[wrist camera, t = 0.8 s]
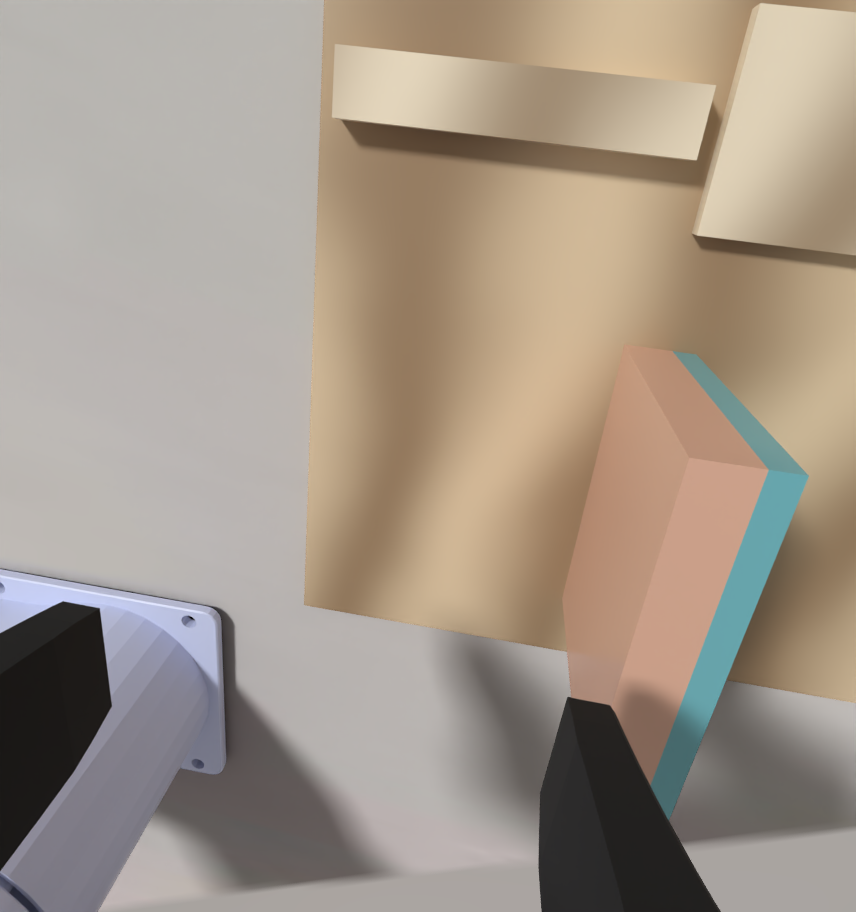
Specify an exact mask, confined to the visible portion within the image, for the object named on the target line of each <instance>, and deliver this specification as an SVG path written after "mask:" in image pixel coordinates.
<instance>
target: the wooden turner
mask: <svg viewBox="0 0 856 912" xmlns="http://www.w3.org/2000/svg"><path fill="white" fill-rule="evenodd" d="M715 88H716V85H709V84H700V83H691V82H682V81H672V80H663V79H654V78H645V77H635V76H626V75H617V74H608V73H599V72H589V71H580V70H571V69H562V68H552V67H543V66H534V65H525V64H516V63H506V62H497V61H488V60H479V59H469V58H460V57H451V56H442V55H432V54H423V53H414V52H405V51H396V50H386V49H377V48H368V47H359V46H349V45H340V44H335V52H334V77H333V102H332V118H336V119H340V120H346V121H355V122H363V123H372V124H380V125H389V126H397V127H406V128H414V129H423V130H431V131H440V132H448V133H457V134H465V135H474V136H482V137H491V138H499V139H508V140H516V141H525V142H533V143H542V144H550V145H559V146H567V147H576V148H584V149H593V150H601V151H610V152H618V153H627V154H635V155H644V156H652V157H661V158H669V159H678V160H686V161H693V160H697V157H698V153H699V150H700V146H701V142H702V138H703V134H704V131H705V127H706V123H707V119H708V115H709V111H710V108H711V104H712V100H713V96H714V92H715ZM692 234H694V235H697V236H705V237H713V238H721V239H729V240H737V241H745V242H753V243H761V244H769V245H776V246H784V247H792V248H800V249H808V250H816V251H824V252H832V253H840V254H848V255H856V12H847V11H836V10H826V9H816V8H806V7H796V6H786V5H775V4H765V3H760V4H759V5H757V6H756V7H754V8H753V9H752V12H751V16H750V19H749V23H748V27H747V31H746V34H745V38H744V42H743V45H742V49H741V53H740V56H739V60H738V64H737V68H736V71H735V75H734V79H733V82H732V86H731V90H730V93H729V97H728V101H727V105H726V108H725V112H724V116H723V119H722V123H721V127H720V130H719V134H718V138H717V142H716V145H715V149H714V153H713V156H712V160H711V164H710V167H709V171H708V175H707V179H706V182H705V186H704V190H703V193H702V197H701V201H700V204H699V208H698V212H697V216H696V219H695V223H694V227H693V230H692Z"/></svg>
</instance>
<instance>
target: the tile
mask: <svg viewBox="0 0 856 912" xmlns="http://www.w3.org/2000/svg"><path fill="white" fill-rule="evenodd" d="M808 477H809V475H808V474H807V473H806V472H805V471H804V470H803V469H802V468H801V467H800V466H799V465H798V463H797V462H796V461H795V460H794V459H793V458H792V457H791V456H790V455H789V454H788V453H787V452H786V451H785V449H784V448H783V447H782V446H781V445H780V444H779V443H778V442H777V441H776V440H775V439H774V438H773V436H772V435H771V434H770V433H769V432H768V431H767V430H766V429H765V428H764V427H763V426H762V425H761V424H760V422H759V421H758V420H757V419H756V418H755V417H754V416H753V415H752V414H751V413H750V412H749V411H748V409H747V408H746V407H745V406H744V405H743V404H742V403H741V402H740V401H739V400H738V399H737V398H736V397H735V395H734V394H733V393H732V392H731V391H730V390H729V389H728V388H727V387H726V386H725V385H724V384H723V383H722V381H721V380H720V379H719V378H718V377H717V376H716V375H715V374H714V373H713V372H712V371H711V370H710V368H709V367H708V366H707V365H706V364H705V363H704V362H703V361H702V360H701V359H700V358H699V357H698V356H697V354H689V353H682V352H675V351H668V350H661V349H654V348H647V347H640V346H632V345H625V344H624V348H623V352H622V356H621V360H620V364H619V368H618V372H617V377H616V381H615V385H614V389H613V393H612V397H611V401H610V405H609V409H608V413H607V417H606V421H605V426H604V430H603V434H602V438H601V442H600V446H599V450H598V454H597V458H596V462H595V466H594V470H593V475H592V479H591V483H590V487H589V491H588V495H587V499H586V503H585V507H584V511H583V515H582V519H581V524H580V528H579V532H578V536H577V540H576V544H575V548H574V552H573V556H572V560H571V564H570V568H569V572H568V577H567V581H566V585H565V589H564V593H563V597H562V602H563V613H564V624H565V635H566V646H567V657H568V668H569V678H570V689H571V698H576V699H581V700H586V701H591V702H597V703H602V704H607V705H610V706H611V708H612V709H613V710H614V712H615V713H616V716H617V718H618V720H619V722H620V724H621V726H622V729H623V731H624V733H625V735H626V737H627V739H628V741H629V743H630V746H631V748H632V750H633V752H634V754H635V756H636V758H637V760H638V762H639V764H640V766H641V768H642V770H643V772H644V774H645V776H646V778H647V780H648V782H649V784H650V786H651V788H652V790H653V792H654V794H655V796H656V798H657V800H658V802H659V803H660V805H661V807H662V809H663V811H664V813H665V815H666V817H667V819H668V820H669V819H670V817H671V814H672V812H673V809H674V807H675V804H676V802H677V799H678V797H679V794H680V792H681V790H682V787H683V785H684V782H685V780H686V777H687V775H688V772H689V770H690V767H691V765H692V763H693V760H694V758H695V755H696V753H697V750H698V748H699V745H700V743H701V740H702V738H703V735H704V733H705V731H706V728H707V726H708V723H709V721H710V718H711V716H712V713H713V711H714V708H715V706H716V704H717V701H718V699H719V696H720V694H721V691H722V689H723V686H724V684H725V681H726V679H727V676H728V674H729V672H730V669H731V667H732V664H733V662H734V659H735V657H736V654H737V652H738V649H739V647H740V645H741V642H742V640H743V637H744V635H745V632H746V630H747V627H748V625H749V622H750V620H751V618H752V615H753V613H754V610H755V608H756V605H757V603H758V600H759V598H760V595H761V593H762V590H763V588H764V586H765V583H766V581H767V578H768V576H769V573H770V571H771V568H772V566H773V563H774V561H775V559H776V556H777V554H778V551H779V549H780V546H781V544H782V541H783V539H784V536H785V534H786V532H787V529H788V527H789V524H790V522H791V519H792V517H793V514H794V512H795V509H796V507H797V504H798V502H799V500H800V497H801V495H802V492H803V490H804V487H805V485H806V482H807V480H808Z"/></svg>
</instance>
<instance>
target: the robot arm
mask: <svg viewBox="0 0 856 912" xmlns="http://www.w3.org/2000/svg"><path fill="white" fill-rule="evenodd" d="M188 616H191V617H193V618H194V619H195V621H194V620H192V619H190V618H189V617H188ZM225 764H226V740H225V712H224V684H223V656H222V628H221V618H220V615H219V614H218V612H217V611H216V610H214V609H213V608H210V607H207V606H202V605H197V604H191V603H186V602H180V601H174V600H169V599H163V598H158V597H152V596H147V595H141V594H136V593H130V592H124V591H119V590H113V589H108V588H102V587H97V586H91V585H85V584H80V583H74V582H69V581H63V580H58V579H52V578H47V577H41V576H35V575H30V574H24V573H19V572H13V571H8V570H2V569H0V912H98V910H99V909H100V907H101V905H102V903H103V902H104V900H105V898H106V896H107V895H108V893H109V891H110V889H111V888H112V886H113V884H114V882H115V881H116V879H117V877H118V875H119V874H120V872H121V870H122V868H123V867H124V865H125V863H126V861H127V860H128V858H129V856H130V854H131V853H132V851H133V849H134V847H135V846H136V844H137V842H138V840H139V839H140V837H141V835H142V833H143V832H144V830H145V828H146V826H147V825H148V823H149V821H150V819H151V818H152V816H153V814H154V812H155V811H156V809H157V807H158V805H159V804H160V802H161V800H162V798H163V797H164V795H165V793H166V791H167V790H168V788H169V786H170V784H171V782H172V781H173V779H174V777H175V775H176V774H177V772H178V770H179V768H181V769H186V770H191V771H196V772H201V773H206V774H213V775H215V774H219V773H221V772H222V770H223V768H224V766H225ZM539 881H540V894H541V908H542V912H721V911H720V910H719V908H718V907H717V905H716V903H715V902H714V900H713V898H712V897H711V895H710V893H709V891H708V890H707V888H706V886H705V885H704V883H703V881H702V879H701V878H700V876H699V874H698V873H697V871H696V869H695V868H694V865H693V864H692V862H691V860H690V858H689V857H688V855H687V853H686V851H685V849H684V847H683V846H682V844H681V842H680V840H679V838H678V837H677V835H676V833H675V831H674V829H673V828H672V826H671V824H670V822H669V820H668V819H667V817H666V815H665V813H664V811H663V809H662V807H661V805H660V803H659V802H658V800H657V798H656V796H655V794H654V792H653V790H652V788H651V786H650V784H649V782H648V780H647V778H646V776H645V774H644V772H643V770H642V768H641V766H640V764H639V762H638V760H637V758H636V756H635V754H634V752H633V750H632V748H631V746H630V743H629V741H628V739H627V737H626V735H625V733H624V731H623V729H622V726H621V724H620V722H619V720H618V718H617V716H616V713H615V712H614V710H613V709H612V708H611V706H610V705H607V704H602V703H597V702H591V701H586V700H581V699H576V698H570V697H567V701H566V704H565V708H564V711H563V715H562V718H561V722H560V725H559V729H558V732H557V736H556V739H555V743H554V746H553V750H552V753H551V757H550V760H549V764H548V767H547V771H546V774H545V778H544V781H543V785H542V789H541V792H540V823H539Z"/></svg>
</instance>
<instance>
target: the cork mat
mask: <svg viewBox="0 0 856 912" xmlns="http://www.w3.org/2000/svg"><path fill="white" fill-rule="evenodd" d="M760 3H765V4H775V5H786V6H796V7H806V8H816V9H826V10H836V11H847V12H856V0H324V21H323V52H322V82H321V112H320V142H319V172H318V202H317V232H316V263H315V293H314V323H313V353H312V383H311V413H310V443H309V474H308V504H307V534H306V564H305V594H304V605H307V606H312V607H318V608H323V609H329V610H335V611H340V612H346V613H352V614H357V615H363V616H369V617H374V618H380V619H385V620H391V621H397V622H402V623H408V624H414V625H419V626H425V627H430V628H436V629H442V630H447V631H453V632H459V633H464V634H470V635H476V636H481V637H487V638H492V639H498V640H504V641H509V642H515V643H521V644H526V645H532V646H538V647H543V648H549V649H554V650H560V651H566V652H567V646H566V635H565V624H564V613H563V602H562V597H563V593H564V589H565V585H566V581H567V577H568V572H569V568H570V564H571V560H572V556H573V552H574V548H575V544H576V540H577V536H578V532H579V528H580V524H581V519H582V515H583V511H584V507H585V503H586V499H587V495H588V491H589V487H590V483H591V479H592V475H593V470H594V466H595V462H596V458H597V454H598V450H599V446H600V442H601V438H602V434H603V430H604V426H605V421H606V417H607V413H608V409H609V405H610V401H611V397H612V393H613V389H614V385H615V381H616V377H617V372H618V368H619V364H620V360H621V356H622V352H623V348H624V344H625V345H632V346H640V347H647V348H654V349H661V350H668V351H675V352H682V353H689V354H697V356H698V357H699V358H700V359H701V360H702V361H703V362H704V363H705V364H706V365H707V366H708V367H709V368H710V370H711V371H712V372H713V373H714V374H715V375H716V376H717V377H718V378H719V379H720V380H721V381H722V383H723V384H724V385H725V386H726V387H727V388H728V389H729V390H730V391H731V392H732V393H733V394H734V395H735V397H736V398H737V399H738V400H739V401H740V402H741V403H742V404H743V405H744V406H745V407H746V408H747V409H748V411H749V412H750V413H751V414H752V415H753V416H754V417H755V418H756V419H757V420H758V421H759V422H760V424H761V425H762V426H763V427H764V428H765V429H766V430H767V431H768V432H769V433H770V434H771V435H772V436H773V438H774V439H775V440H776V441H777V442H778V443H779V444H780V445H781V446H782V447H783V448H784V449H785V451H786V452H787V453H788V454H789V455H790V456H791V457H792V458H793V459H794V460H795V461H796V462H797V463H798V465H799V466H800V467H801V468H802V469H803V470H804V471H805V472H806V473H807V474H808V475H809V477H808V480H807V482H806V485H805V487H804V490H803V492H802V495H801V497H800V500H799V502H798V504H797V507H796V509H795V512H794V514H793V517H792V519H791V522H790V524H789V527H788V529H787V532H786V534H785V536H784V539H783V541H782V544H781V546H780V549H779V551H778V554H777V556H776V559H775V561H774V563H773V566H772V568H771V571H770V573H769V576H768V578H767V581H766V583H765V586H764V588H763V590H762V593H761V595H760V598H759V600H758V603H757V605H756V608H755V610H754V613H753V615H752V618H751V620H750V622H749V625H748V627H747V630H746V632H745V635H744V637H743V640H742V642H741V645H740V647H739V649H738V652H737V654H736V657H735V659H734V662H733V664H732V667H731V669H730V672H729V674H728V676H727V679H726V680H729V681H735V682H740V683H746V684H752V685H757V686H763V687H768V688H774V689H780V690H785V691H791V692H797V693H802V694H808V695H813V696H819V697H825V698H830V699H836V700H842V701H847V702H853V703H856V255H848V254H840V253H832V252H824V251H816V250H808V249H800V248H792V247H784V246H776V245H769V244H761V243H753V242H745V241H737V240H729V239H721V238H713V237H705V236H697V235H694V234H692V230H693V227H694V223H695V219H696V216H697V212H698V208H699V204H700V201H701V197H702V193H703V190H704V186H705V182H706V179H707V175H708V171H709V167H710V164H711V160H712V156H713V153H714V149H715V145H716V142H717V138H718V134H719V130H720V127H721V123H722V119H723V116H724V112H725V108H726V105H727V101H728V97H729V93H730V90H731V86H732V82H733V79H734V75H735V71H736V68H737V64H738V60H739V56H740V53H741V49H742V45H743V42H744V38H745V34H746V31H747V27H748V23H749V19H750V16H751V12H752V9H753V8H754V7H756V6H757V5H759V4H760ZM335 44H340V45H349V46H359V47H368V48H377V49H386V50H396V51H405V52H414V53H423V54H432V55H442V56H451V57H460V58H469V59H479V60H488V61H497V62H506V63H516V64H525V65H534V66H543V67H552V68H562V69H571V70H580V71H589V72H599V73H608V74H617V75H626V76H635V77H645V78H654V79H663V80H672V81H682V82H691V83H700V84H709V85H716V88H715V92H714V96H713V100H712V104H711V108H710V111H709V115H708V119H707V123H706V127H705V131H704V134H703V138H702V142H701V146H700V150H699V153H698V157H697V160H693V161H686V160H678V159H669V158H661V157H652V156H644V155H635V154H627V153H618V152H610V151H601V150H593V149H584V148H576V147H567V146H559V145H550V144H542V143H533V142H525V141H516V140H508V139H499V138H491V137H482V136H474V135H465V134H457V133H448V132H440V131H431V130H423V129H414V128H406V127H397V126H389V125H380V124H372V123H363V122H355V121H346V120H340V119H336V118H332V102H333V77H334V52H335Z"/></svg>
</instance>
